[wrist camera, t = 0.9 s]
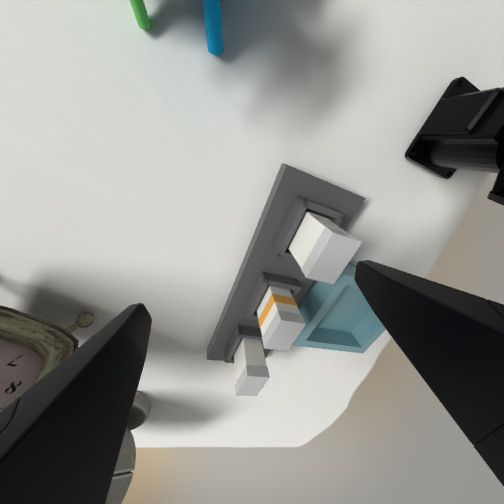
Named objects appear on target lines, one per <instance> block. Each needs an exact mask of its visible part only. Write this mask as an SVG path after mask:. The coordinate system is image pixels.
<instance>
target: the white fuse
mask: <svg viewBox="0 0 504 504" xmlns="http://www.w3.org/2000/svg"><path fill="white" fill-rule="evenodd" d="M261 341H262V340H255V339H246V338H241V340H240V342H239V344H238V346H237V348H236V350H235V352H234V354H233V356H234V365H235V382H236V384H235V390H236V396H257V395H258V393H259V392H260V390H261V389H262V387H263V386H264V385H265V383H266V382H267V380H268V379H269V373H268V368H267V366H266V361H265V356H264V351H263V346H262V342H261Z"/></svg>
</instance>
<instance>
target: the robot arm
mask: <svg viewBox="0 0 504 504" xmlns="http://www.w3.org/2000/svg"><path fill="white" fill-rule="evenodd" d="M456 85H457V87H456ZM411 152H412V154H411ZM405 157H406V158H407V159H409V160H410V161H412V162H414V163H416V164H418V165H419V166H421V167H423V168H425V169H427V170H429V171H430V172H432V173H434V174H436V175H438V176H439V177H441V178H446V179H448V178H450V177H451V176H452V175H453V174H454V172H455V171H456V170H457V169H465V170H474V171H484V172H493V173H498V175H497V178H496V180H495V183H494V186H493V189H492V191H490V192H489V195H488V199H490V200H492V201H495V202H497V203H499V204H502V205H504V87H503V88H494V89H489V90H484V91H480V90H479V89H478V88H476V87H475V86H474V85H473V84H471V83H470V82H469V81H468V80H467V79H465V78H464V77H460V78H456V79H454V80H453V81H452V82H451V83H450V85H449V86H448V88H447V89H446V91H445V92H444V94H443V96H442V97H441V99H440V100H439V102H438V103H437V105H436V106H435V108H434V109H433V111H432V112H431V114H430V116H429V117H428V119H427V120H426V122H425V123H424V125H423V126H422V128H421V129H420V131H419V132H418V134H417V136H416V137H415V139H414V140H413V142H412V143H411V145H410V146H409V148H408V149H407V151H406V153H405ZM354 278H355V282H356V284H357V286H358V287H359V289H360V291H361V292H362V294H363V296H364V297H365V299H366V301H367V302H368V304H369V306H370V307H371V309H372V310H373V312H374V313H375V315H376V316H377V318H378V319H379V320H380V322H381V323H382V324H383V326H384V327H385V328H386V330H387V331H388V332H389V334H390V335H391V336H392V338H393V339H394V340H395V341H396V343H397V344H398V346H399V347H400V348H401V350H402V351H403V352H404V354H405V355H406V356H407V358H408V359H409V360H410V362H411V363H412V364H413V366H414V367H415V368H416V370H417V371H418V372H419V374H420V375H421V376H422V378H423V379H424V380H425V382H426V383H427V384H428V386H429V387H430V388H431V390H432V391H433V392H434V394H435V395H436V396H437V398H438V399H439V400H440V402H441V403H442V404H443V406H444V407H445V408H446V410H447V411H448V412H449V414H450V415H451V417H452V418H453V419H454V421H455V422H456V423H457V425H458V426H459V427H460V429H461V430H462V431H463V433H464V434H465V435H466V437H467V438H468V439H469V441H470V442H471V443H472V444H473V445H474V448H475V449H476V450H477V452H478V453H479V454H480V456H481V457H482V458H483V460H484V461H485V462H486V464H487V465H488V466H489V467H490V469H491V470H492V471H493V473H494V474H495V476H496V477H497V478H498V480H499V481H500V482H501V484H502V485H503V486H504V305H503V304H499V303H497V302H494V301H491V300H486V299H485V298H482V297H479V296H476V295H473V294H469V293H467V292H464V291H460V290H458V289H454V288H451V287H448V286H445V285H442V284H439V283H436V282H433V281H430V280H427V279H424V278H421V277H418V276H415V275H412V274H409V273H406V272H403V271H400V270H397V269H394V268H391V267H388V266H385V265H382V264H379V263H376V262H373V261H370V260H365V261H360V262H358V263H357V266H356V271H355V277H354ZM151 323H152V319H151V316H150V314H149V313H148V311H147V309H146V307H145V306H144V304H142V303H138V304H133V305H130V306H129V307H128V308H126V309H125V310H124V311H123V312H121V313H120V314H119V315H118V316H117V317H115V318H114V319H113V320H112V321H110V322H109V323H108V324H107V325H106V326H104V327H103V328H102V329H101V330H100V331H98V332H97V333H96V334H95V335H93V336H92V337H91V338H90V339H89V340H87V341H86V342H85V343H84V344H83V345H81V346H80V347H79V348H78V349H76V350H75V351H74V352H73V353H72V354H70V355H69V356H68V357H67V358H65V359H64V360H63V361H62V362H61V363H59V364H58V365H57V366H56V367H55V368H53V369H52V370H51V371H50V372H48V373H47V374H46V375H45V376H44V377H42V378H41V379H40V380H39V381H38V382H36V383H35V384H34V385H33V386H31V387H30V388H29V389H28V390H27V391H25V392H24V393H23V394H22V395H21V397H18V398H17V399H16V400H14V401H13V402H12V403H11V404H9V405H8V406H7V407H6V408H5V409H3V410H2V411H1V412H0V504H105V503H106V500H107V496H108V492H109V489H110V485H111V482H112V478H113V474H114V471H115V467H116V463H117V460H118V456H119V453H120V449H121V445H122V442H123V438H124V435H125V431H126V427H127V424H128V420H129V417H130V413H131V409H132V406H133V402H134V399H135V395H136V391H137V388H138V384H139V381H140V377H141V373H142V370H143V366H144V362H145V358H146V353H147V347H148V341H149V335H150V329H151Z"/></svg>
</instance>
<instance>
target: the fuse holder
mask: <svg viewBox="0 0 504 504" xmlns="http://www.w3.org/2000/svg"><path fill="white" fill-rule="evenodd" d="M364 200H365V198H364V197H361V196H359V195H357V194H354V193H352V192H350V191H347V190H345V189H343V188H340V187H338V186H335V185H333V184H331V183H328V182H326V181H324V180H321V179H319V178H317V177H314V176H312V175H310V174H307V173H305V172H303V171H300V170H298V169H296V168H293V167H291V166H288V165H286V164H283V163H282V165H281V167H280V170H279V172H278V175H277V177H276V180H275V182H274V185H273V187H272V190H271V192H270V195H269V197H268V200H267V202H266V205H265V207H264V210H263V212H262V215H261V217H260V220H259V222H258V225H257V227H256V230H255V232H254V235H253V237H252V240H251V242H250V245H249V247H248V250H247V252H246V255H245V257H244V260H243V262H242V265H241V267H240V270H239V272H238V275H237V277H236V280H235V282H234V285H233V287H232V290H231V292H230V295H229V297H228V300H227V302H226V305H225V307H224V310H223V312H222V315H221V317H220V320H219V322H218V325H217V327H216V330H215V332H214V334H213V337H212V339H211V342H210V344H209V347H208V349H207V359H209V360H221V361H225V362H226V363H234V356H233V354H234V352H235V350H236V348H237V346H238V344H239V342H240V340H241V338H246V339H255V340H262V333H261V329H260V326H259V321H258V315H257V312H256V308H257V306H258V304H259V302H260V300H261V298H262V296H263V294H264V292H265V290H266V288H267V286H268V285H272V286H277V287H281V288H286V289H290V292H291V294H292V297H293V298H294V300H295V302H296V304H297V307H298V305H299V304H300V302H301V301H302V299H303V297H304V296H305V294H306V293H307V291H308V289H309V288H310V286H311V285H312V283H313V281H314V280H313V279H309V278H306V277H305V275H304V274H303V272H302V270H301V267H300V266H299V264H298V263H297V261H296V259H295V258H294V256H293V255H292V253H291V252H290V250H289V249H288V248H287V247H288V245H289V243H290V241H291V239H292V237H293V235H294V233H295V231H296V229H297V227H298V225H299V223H300V221H301V219H302V217H303V215H304V213H305V211H306V209H307V210H309V211H312V212H315V213H318V214H321V215H323V216H325V217H327V218H328V219H330V221H331V222H333V223H334V224H336V225H337V226H339V227H340V228H341V229H343V230H344V231H345V230H346V229H347V227H348V226H349V224H350V222H351V221H352V219H353V218H354V216H355V214H356V213H357V211H358V210H359V208H360V206H361V205H362V203H363V202H364ZM261 342H262V346H263V341H261ZM270 350H271V349H265V348H264V346H263V351H264V356H265V358H266V357H267V355H268V353H269V352H270Z"/></svg>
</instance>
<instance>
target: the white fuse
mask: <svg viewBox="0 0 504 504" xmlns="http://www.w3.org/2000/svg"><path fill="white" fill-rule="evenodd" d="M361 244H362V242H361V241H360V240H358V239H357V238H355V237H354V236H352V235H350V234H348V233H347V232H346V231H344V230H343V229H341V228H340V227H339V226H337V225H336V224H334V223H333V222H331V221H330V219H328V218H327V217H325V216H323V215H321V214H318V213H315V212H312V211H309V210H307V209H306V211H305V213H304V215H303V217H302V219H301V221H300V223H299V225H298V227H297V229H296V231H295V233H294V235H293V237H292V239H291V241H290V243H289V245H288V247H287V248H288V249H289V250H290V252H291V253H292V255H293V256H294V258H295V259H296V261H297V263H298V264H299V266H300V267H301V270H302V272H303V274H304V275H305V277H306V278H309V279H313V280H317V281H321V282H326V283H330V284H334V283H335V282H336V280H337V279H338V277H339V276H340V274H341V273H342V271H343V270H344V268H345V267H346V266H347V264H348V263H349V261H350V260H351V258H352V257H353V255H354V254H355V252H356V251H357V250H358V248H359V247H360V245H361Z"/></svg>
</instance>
